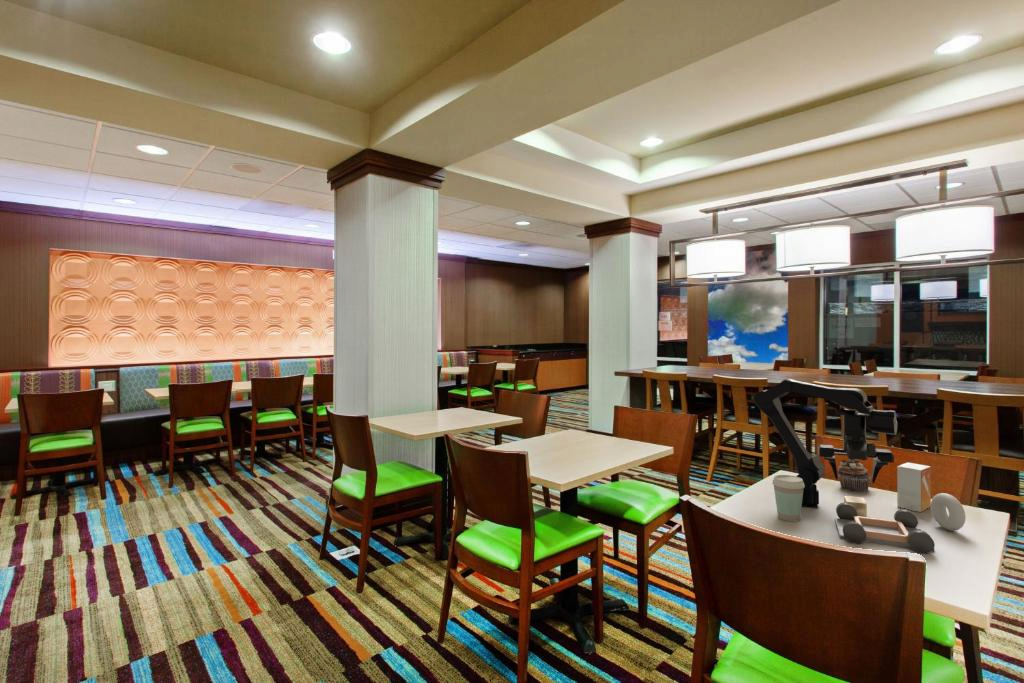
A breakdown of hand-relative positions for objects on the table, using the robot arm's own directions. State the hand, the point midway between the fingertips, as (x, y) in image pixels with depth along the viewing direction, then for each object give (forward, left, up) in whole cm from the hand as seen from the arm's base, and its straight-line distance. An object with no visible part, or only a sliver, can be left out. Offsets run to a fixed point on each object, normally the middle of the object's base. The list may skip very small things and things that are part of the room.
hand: (854, 481), depth 154 cm
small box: (+17, +14, -10) cm, 24 cm away
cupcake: (+3, +29, -10) cm, 31 cm away
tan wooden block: (0, 0, -10) cm, 10 cm away
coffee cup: (-18, -12, -10) cm, 24 cm away
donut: (+21, -4, -10) cm, 24 cm away
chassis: (+4, -16, -10) cm, 19 cm away
